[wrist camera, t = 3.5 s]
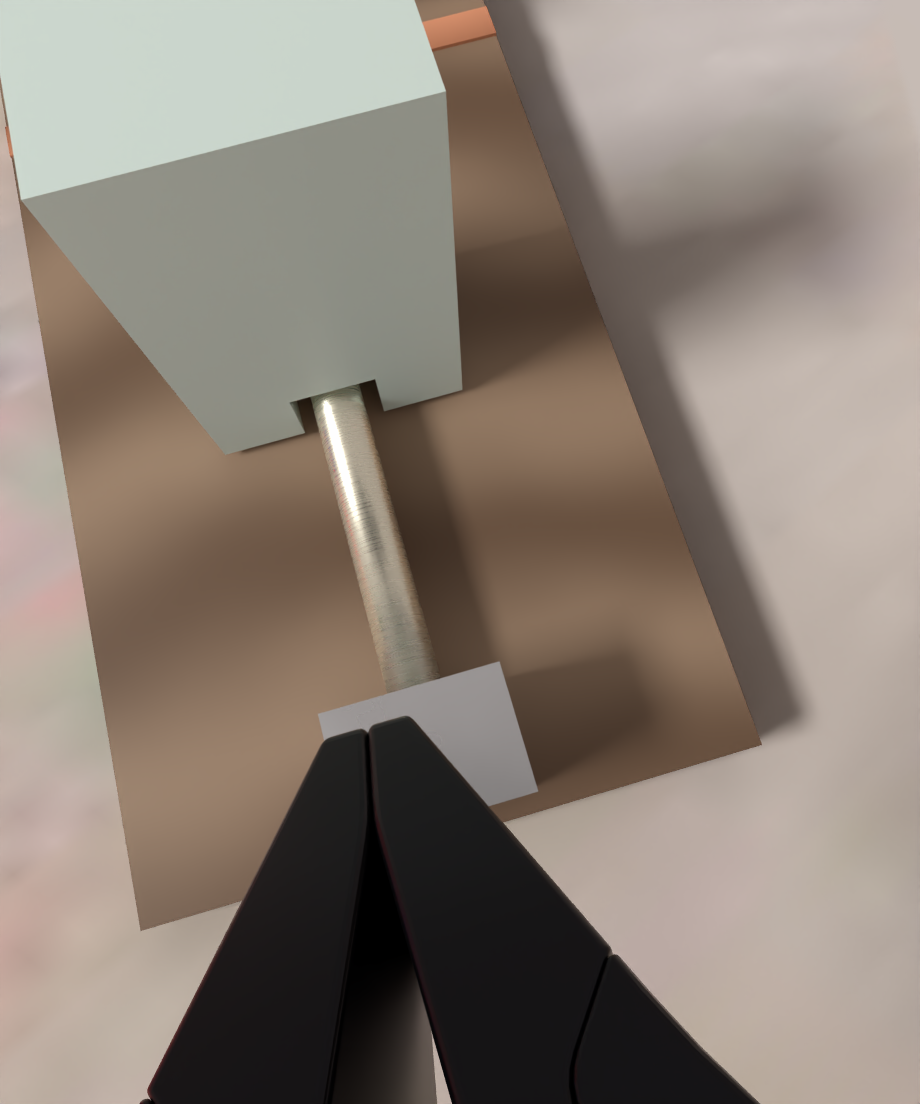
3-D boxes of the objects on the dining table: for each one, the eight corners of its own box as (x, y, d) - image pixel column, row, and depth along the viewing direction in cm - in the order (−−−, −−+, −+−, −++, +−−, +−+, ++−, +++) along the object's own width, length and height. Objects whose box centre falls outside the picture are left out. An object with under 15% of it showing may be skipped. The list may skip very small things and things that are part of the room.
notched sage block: (462, 390, 20) (445, 91, 12) (225, 454, 20) (21, 200, 11) (419, 254, 21) (374, -114, 13) (193, 314, 21) (-16, -20, 12)
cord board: (741, 747, 20) (763, 744, 18) (166, 919, 19) (139, 931, 18) (454, -32, 26) (453, -83, 25) (18, 76, 26) (-11, 31, 24)
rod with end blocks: (556, 780, 19) (587, 780, 13) (345, 842, 19) (287, 871, 13) (312, -19, 25) (264, -244, 20) (153, 21, 25) (58, -195, 20)
